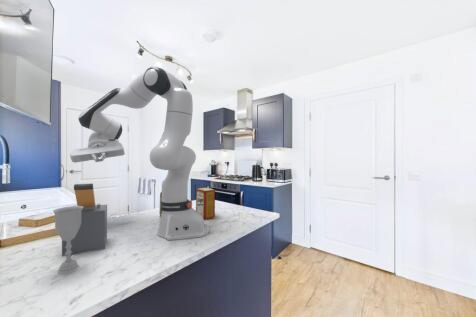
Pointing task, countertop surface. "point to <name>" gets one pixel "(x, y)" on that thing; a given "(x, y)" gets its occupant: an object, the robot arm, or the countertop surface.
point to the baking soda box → (205, 202)
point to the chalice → (68, 233)
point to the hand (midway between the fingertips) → (99, 160)
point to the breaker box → (90, 231)
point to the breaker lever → (85, 195)
